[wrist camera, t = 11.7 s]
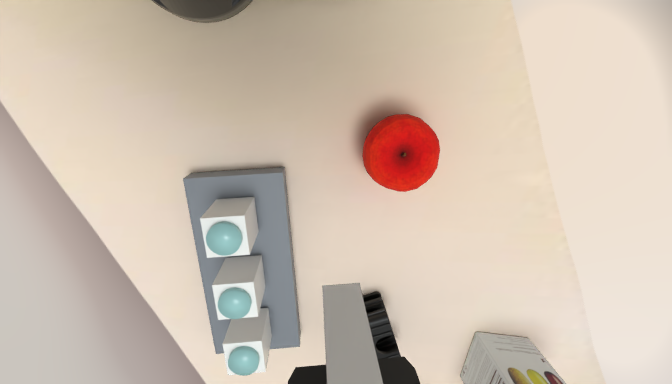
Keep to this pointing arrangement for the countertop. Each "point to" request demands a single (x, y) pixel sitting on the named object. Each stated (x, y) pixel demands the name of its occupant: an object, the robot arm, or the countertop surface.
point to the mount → (268, 243)
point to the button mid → (239, 287)
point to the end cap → (380, 327)
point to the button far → (248, 344)
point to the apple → (401, 152)
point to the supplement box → (506, 362)
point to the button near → (230, 227)
